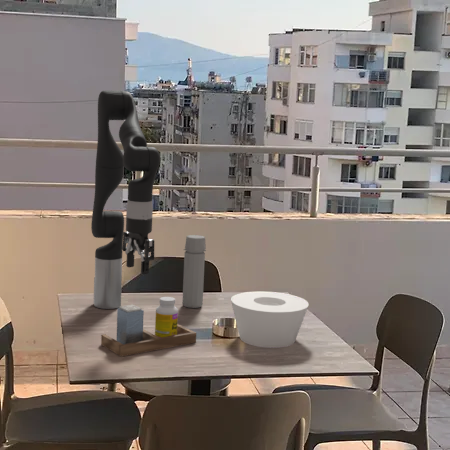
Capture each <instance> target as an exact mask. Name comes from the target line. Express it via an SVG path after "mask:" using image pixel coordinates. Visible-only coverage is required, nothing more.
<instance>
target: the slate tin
mask: <svg viewBox="0 0 450 450" xmlns="http://www.w3.org/2000/svg"><path fill="white" fill-rule="evenodd" d="M116 310H117V311H116V341H118V342H120V343H121V344H128V343H134V342H139V341H143V329H144V313H145V312H144V311H145V310H144V309H142V308H141V307H140V306H137V305H136V304H126V305H121V306H120V307H118V308H116Z"/></svg>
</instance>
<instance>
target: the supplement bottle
mask: <svg viewBox="0 0 450 450" xmlns="http://www.w3.org/2000/svg"><path fill="white" fill-rule="evenodd" d="M175 304H176V298H175V297H173V296H162V297H159V305H158V306H157V307H156V308H155V323H154V324H155V325H154V335H155V336H157V337H159V338H162V337H167V336H173V335H177V324H178V321H179V320H178V317H179V316H178V315H179V310H178V307H176V306H175Z"/></svg>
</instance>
